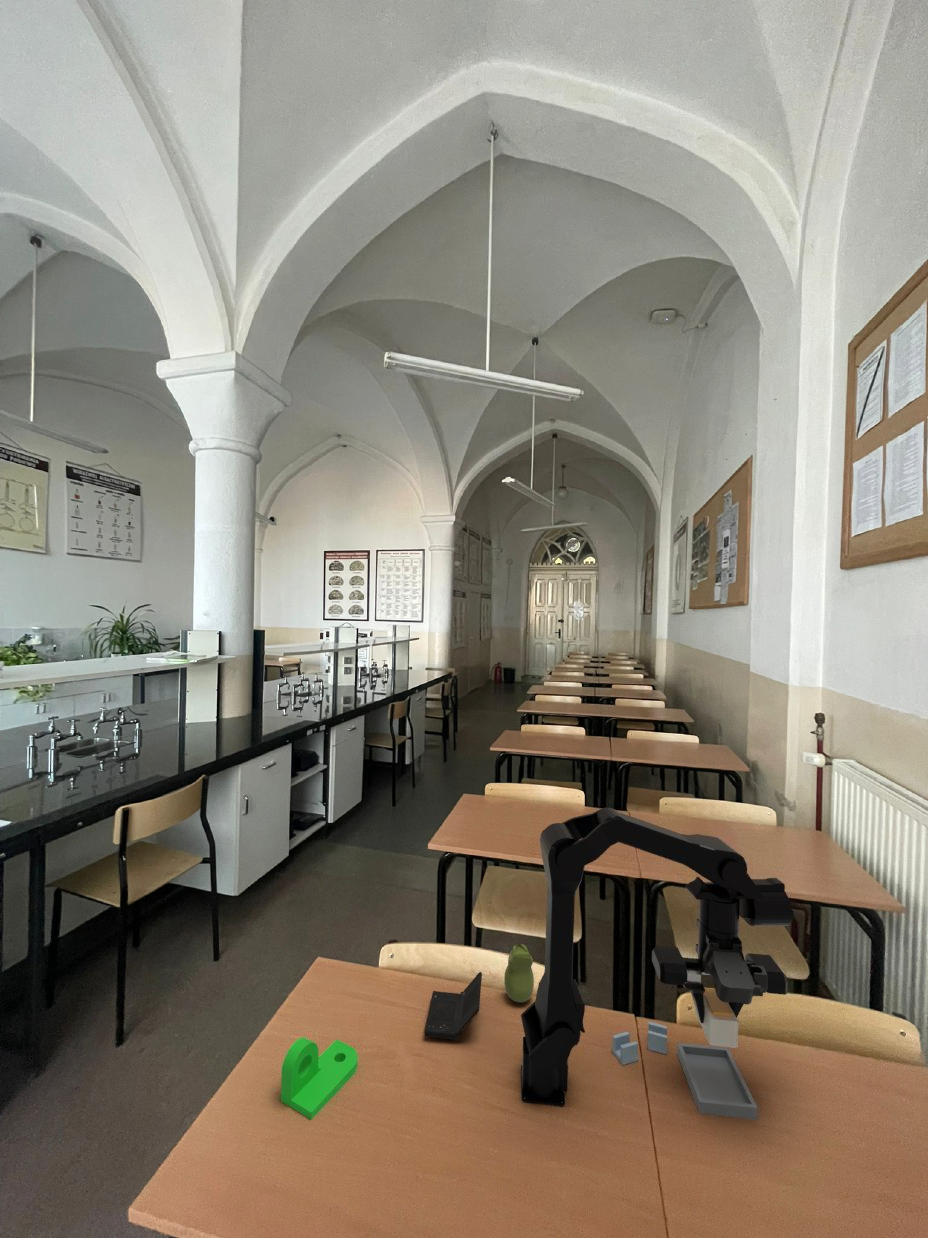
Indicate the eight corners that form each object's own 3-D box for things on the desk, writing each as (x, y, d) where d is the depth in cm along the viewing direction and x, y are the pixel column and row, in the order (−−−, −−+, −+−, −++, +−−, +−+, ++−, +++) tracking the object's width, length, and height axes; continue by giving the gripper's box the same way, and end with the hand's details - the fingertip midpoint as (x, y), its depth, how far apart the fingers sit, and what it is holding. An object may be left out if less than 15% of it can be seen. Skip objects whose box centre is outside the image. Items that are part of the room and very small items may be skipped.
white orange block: (709, 1045, 82) (710, 1015, 82) (695, 1012, 89) (696, 984, 89) (737, 1048, 82) (738, 1017, 82) (720, 1014, 89) (721, 986, 89)
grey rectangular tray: (699, 1114, 80) (699, 1102, 80) (677, 1053, 91) (677, 1043, 91) (757, 1120, 80) (757, 1108, 80) (727, 1058, 91) (728, 1048, 91)
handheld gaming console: (421, 987, 103) (456, 948, 103) (450, 1008, 104) (485, 970, 104) (421, 1040, 92) (459, 997, 91) (453, 1064, 93) (491, 1021, 92)
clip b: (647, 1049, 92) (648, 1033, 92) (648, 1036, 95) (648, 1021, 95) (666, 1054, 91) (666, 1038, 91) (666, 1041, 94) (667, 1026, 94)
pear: (529, 988, 107) (530, 937, 107) (536, 1008, 101) (538, 954, 101) (501, 990, 106) (503, 939, 106) (507, 1010, 101) (508, 956, 101)
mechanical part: (311, 1127, 77) (312, 1070, 77) (280, 1108, 80) (281, 1053, 80) (365, 1066, 88) (366, 1016, 88) (336, 1051, 91) (337, 1003, 90)
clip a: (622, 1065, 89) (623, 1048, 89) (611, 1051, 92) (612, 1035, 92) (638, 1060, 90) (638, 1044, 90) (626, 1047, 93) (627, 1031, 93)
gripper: (671, 949, 78) (668, 1057, 78) (808, 961, 76) (805, 1072, 77) (652, 908, 89) (649, 1003, 89) (771, 917, 88) (768, 1014, 88)
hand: (715, 1022), depth 85 cm, fingers closed on white orange block, 4 cm apart
